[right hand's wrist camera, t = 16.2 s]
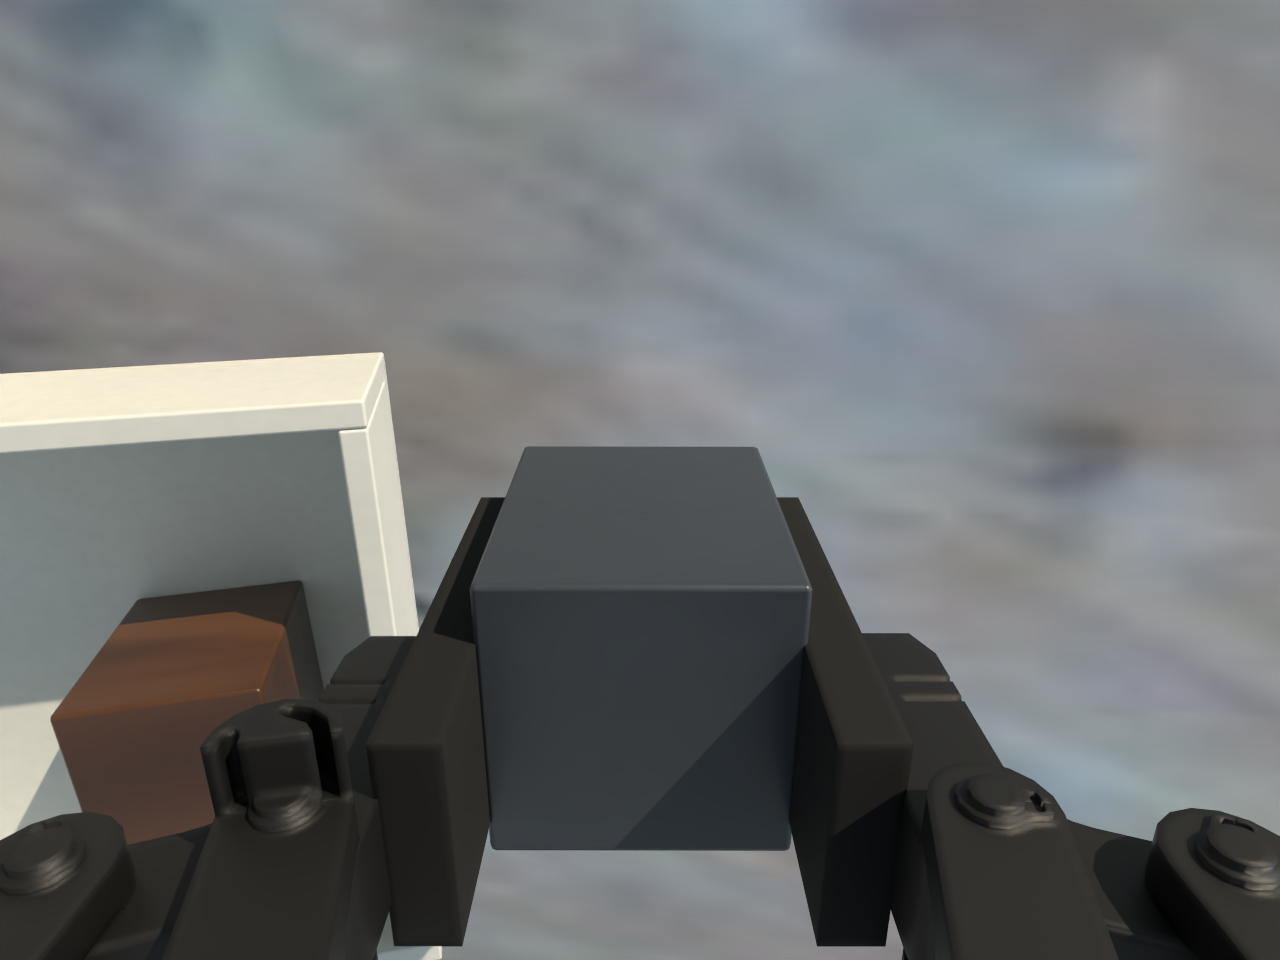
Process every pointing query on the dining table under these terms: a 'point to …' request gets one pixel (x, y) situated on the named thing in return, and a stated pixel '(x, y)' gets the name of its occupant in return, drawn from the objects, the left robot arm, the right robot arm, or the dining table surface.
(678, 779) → the charcoal block
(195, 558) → the tray
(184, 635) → the walnut block
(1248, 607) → the dining table surface
